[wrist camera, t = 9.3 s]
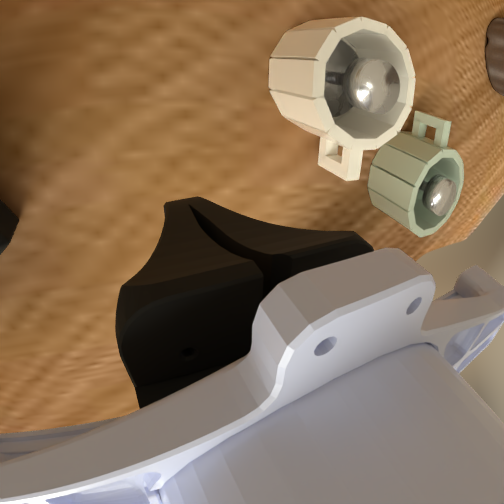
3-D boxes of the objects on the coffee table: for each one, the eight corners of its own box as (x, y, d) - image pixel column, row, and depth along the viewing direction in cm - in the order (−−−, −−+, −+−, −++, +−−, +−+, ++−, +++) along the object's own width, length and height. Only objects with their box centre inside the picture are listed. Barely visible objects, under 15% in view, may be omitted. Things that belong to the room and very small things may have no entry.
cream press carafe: (270, 14, 17) (316, 5, 13) (367, 32, 20) (418, 35, 16) (266, 164, 24) (304, 191, 20) (356, 156, 27) (400, 179, 23)
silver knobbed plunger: (291, 32, 18) (344, 29, 14) (360, 43, 20) (416, 49, 16) (287, 116, 22) (337, 135, 17) (354, 117, 24) (406, 135, 19)
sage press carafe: (415, 205, 34) (450, 228, 30) (361, 216, 31) (398, 244, 27) (434, 111, 28) (475, 127, 24) (378, 104, 25) (426, 119, 21)
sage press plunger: (415, 199, 33) (453, 223, 28) (376, 206, 30) (418, 234, 26) (426, 145, 29) (469, 165, 25) (388, 145, 27) (435, 167, 22)
